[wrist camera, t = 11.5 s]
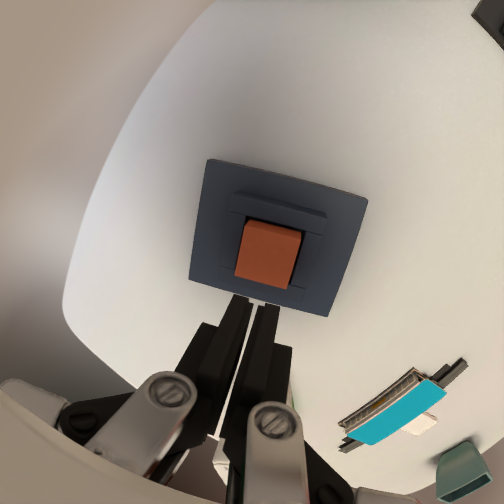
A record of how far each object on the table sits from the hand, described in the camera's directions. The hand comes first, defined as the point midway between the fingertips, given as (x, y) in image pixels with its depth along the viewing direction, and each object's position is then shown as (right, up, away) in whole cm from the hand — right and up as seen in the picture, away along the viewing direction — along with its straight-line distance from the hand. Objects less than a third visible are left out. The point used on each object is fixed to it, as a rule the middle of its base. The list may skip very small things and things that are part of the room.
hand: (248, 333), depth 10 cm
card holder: (+18, -17, +17) cm, 30 cm away
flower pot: (+35, -31, +19) cm, 50 cm away
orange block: (+1, +3, +10) cm, 11 cm away
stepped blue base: (+2, +4, +12) cm, 13 cm away
